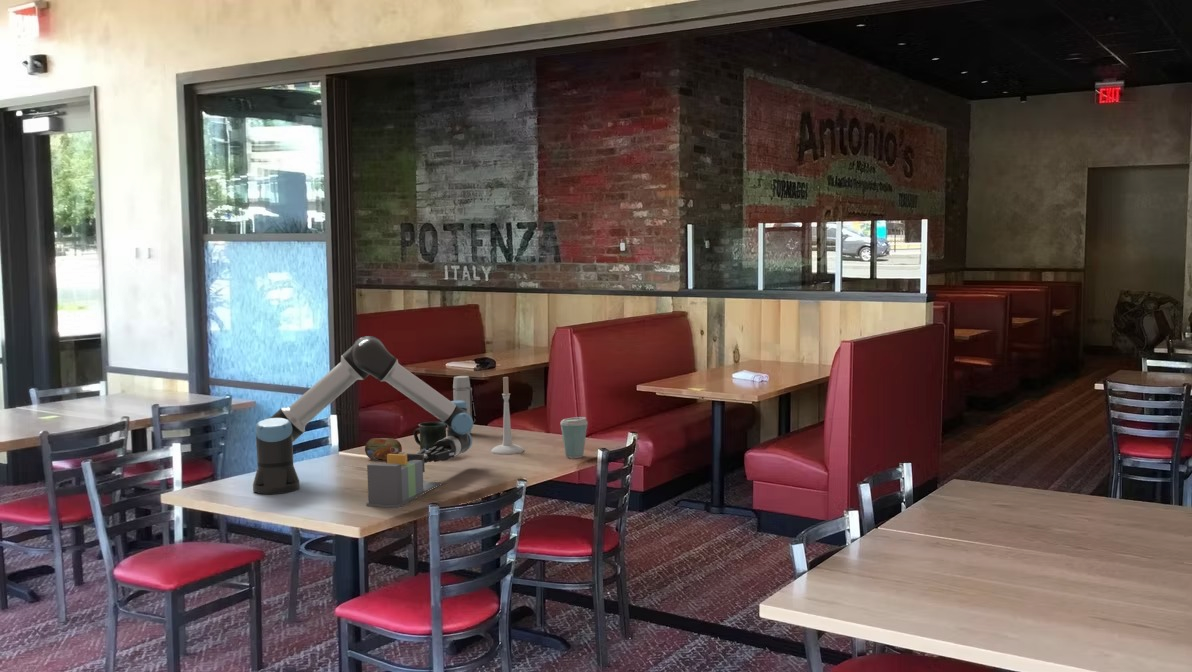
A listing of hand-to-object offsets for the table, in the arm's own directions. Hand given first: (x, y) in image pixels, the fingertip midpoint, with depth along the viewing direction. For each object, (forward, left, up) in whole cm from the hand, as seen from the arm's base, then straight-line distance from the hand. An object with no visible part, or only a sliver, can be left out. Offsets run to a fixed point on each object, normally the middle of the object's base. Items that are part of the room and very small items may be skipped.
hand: (416, 462), depth 342 cm
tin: (-9, +53, -9) cm, 55 cm away
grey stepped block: (-4, -7, -9) cm, 12 cm away
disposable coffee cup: (+62, +35, -9) cm, 72 cm away
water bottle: (+27, +98, -9) cm, 102 cm away
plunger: (-4, -8, -3) cm, 9 cm away
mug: (+9, +59, -9) cm, 61 cm away
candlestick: (+39, +54, -9) cm, 67 cm away
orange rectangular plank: (-7, -12, +2) cm, 14 cm away
